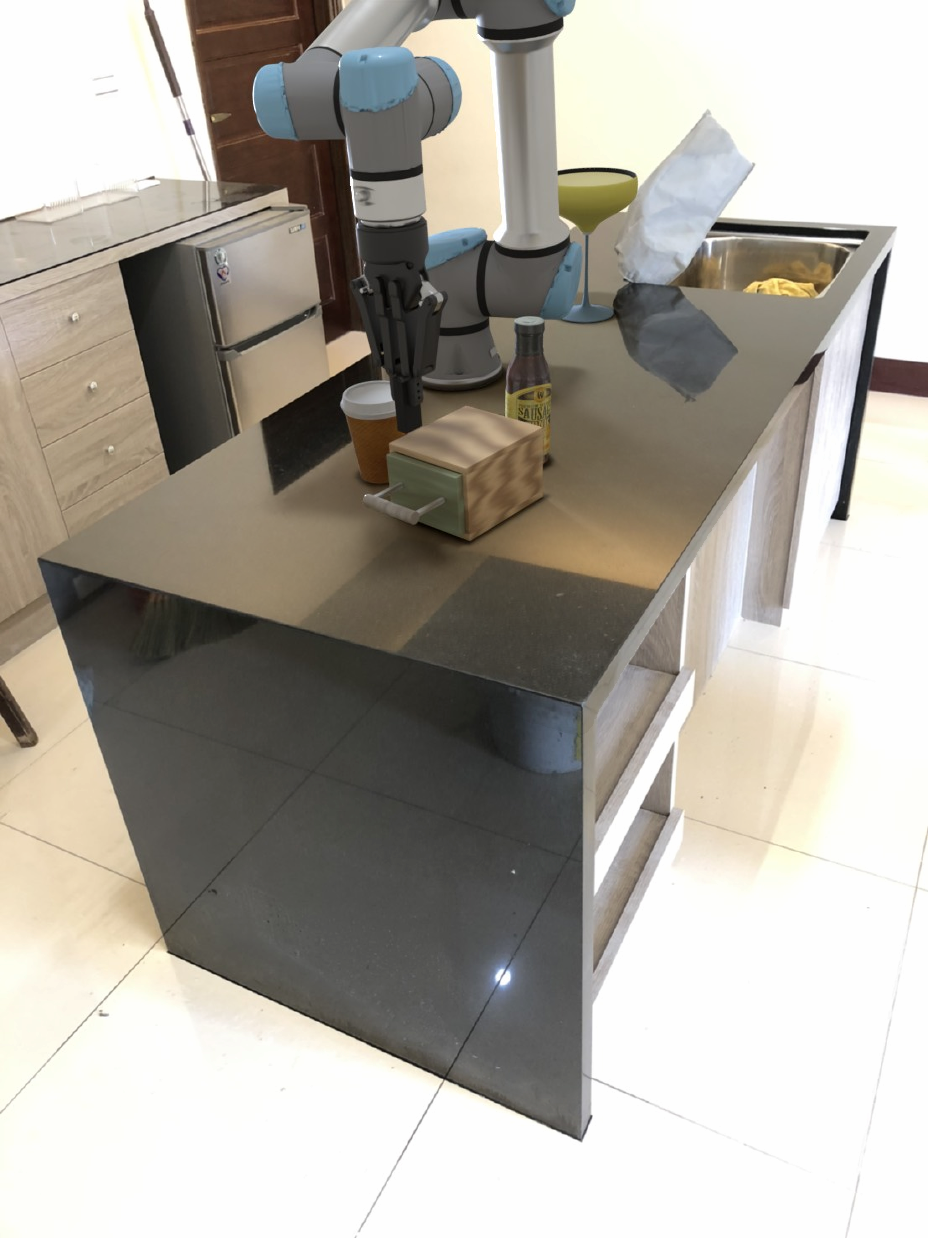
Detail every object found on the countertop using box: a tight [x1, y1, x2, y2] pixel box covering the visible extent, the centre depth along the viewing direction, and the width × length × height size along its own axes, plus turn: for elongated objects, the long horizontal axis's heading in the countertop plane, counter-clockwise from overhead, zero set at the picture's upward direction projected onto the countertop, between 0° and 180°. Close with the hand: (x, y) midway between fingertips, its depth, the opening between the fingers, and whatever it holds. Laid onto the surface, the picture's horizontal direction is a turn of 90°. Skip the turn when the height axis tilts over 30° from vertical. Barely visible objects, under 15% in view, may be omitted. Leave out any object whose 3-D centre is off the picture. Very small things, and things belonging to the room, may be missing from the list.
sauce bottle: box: [504, 316, 552, 465], centre depth 136 cm, size 6×6×20 cm
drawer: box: [362, 452, 466, 538], centre depth 126 cm, size 20×12×8 cm, turn 139°
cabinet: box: [389, 405, 544, 542], centre depth 129 cm, size 15×13×10 cm
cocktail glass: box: [557, 166, 639, 324], centre depth 189 cm, size 18×18×25 cm
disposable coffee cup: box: [339, 380, 407, 484], centre depth 137 cm, size 10×10×12 cm
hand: (410, 428), depth 118 cm, fingers closed
